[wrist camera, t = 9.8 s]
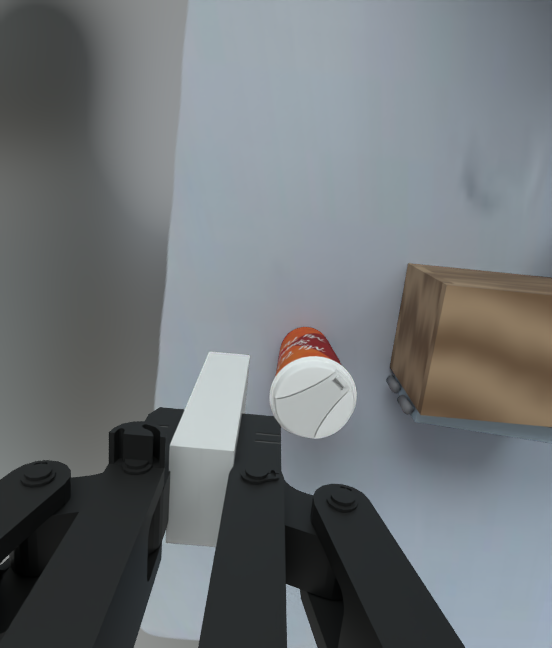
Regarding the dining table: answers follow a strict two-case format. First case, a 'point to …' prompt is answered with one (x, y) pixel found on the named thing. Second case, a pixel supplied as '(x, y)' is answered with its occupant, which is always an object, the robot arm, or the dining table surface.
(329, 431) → the paper cup
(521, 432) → the door
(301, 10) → the dining table surface
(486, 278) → the cabinet
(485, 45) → the dining table surface
